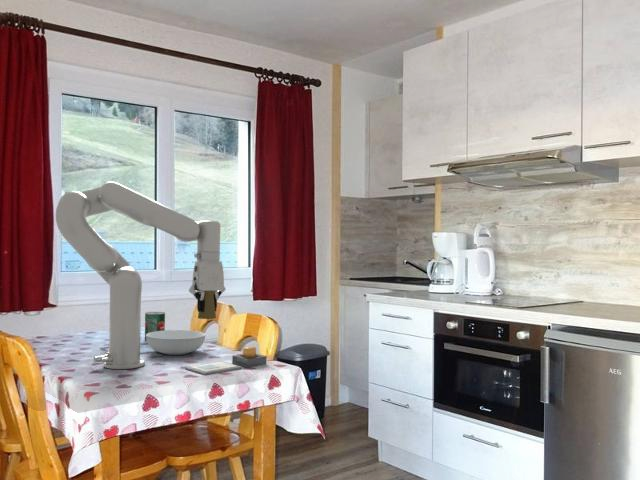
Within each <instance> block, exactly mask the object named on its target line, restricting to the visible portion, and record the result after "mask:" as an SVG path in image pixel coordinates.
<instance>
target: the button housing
mask: <svg viewBox="0 0 640 480" xmlns="http://www.w3.org/2000/svg"><path fill="white" fill-rule="evenodd" d="M231 364H234V365H237V366H241V367H242V368H246V369H249V368H254V367H253V366H255V367H259V366H258V365H260V366H264V365H267V356H266V355H264V354H263V355H262V354H258V353H256V357H252V358H246V357H243V353H242V354H241V353H240V354H235V355H232V362H231ZM248 367H249V368H248Z"/></svg>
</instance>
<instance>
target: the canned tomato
mask: <svg viewBox="0 0 640 480" xmlns="http://www.w3.org/2000/svg"><path fill="white" fill-rule="evenodd" d="M144 313H145V314H144V341H146V342H147V340H146V334H148V333H151V332H156V331H165V330H166V312H164V311H148V312H144Z"/></svg>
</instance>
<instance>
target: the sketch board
mask: <svg viewBox="0 0 640 480" xmlns="http://www.w3.org/2000/svg"><path fill="white" fill-rule="evenodd" d="M241 369H243V367H242V366H238V365H235V364H232V363H228V362H226V361H218V362H210V363H205V364H204V363H203V364H197V365H190V366H185V370H187V371H191V372H192V373H193V372H194V373H197V374H200V375H204V376H206V375H213V374H219V373H224V372H230V371H237V370H241Z"/></svg>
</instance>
